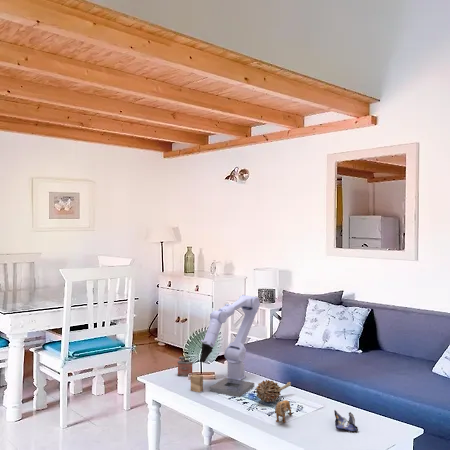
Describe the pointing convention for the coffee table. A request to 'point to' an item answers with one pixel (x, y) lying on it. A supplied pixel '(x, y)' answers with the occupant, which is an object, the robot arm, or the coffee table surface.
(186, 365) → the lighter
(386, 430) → the coffee table surface
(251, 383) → the collar plate
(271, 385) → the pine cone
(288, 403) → the lion figurine
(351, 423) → the blue pointed piece
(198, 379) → the tan cardboard box
